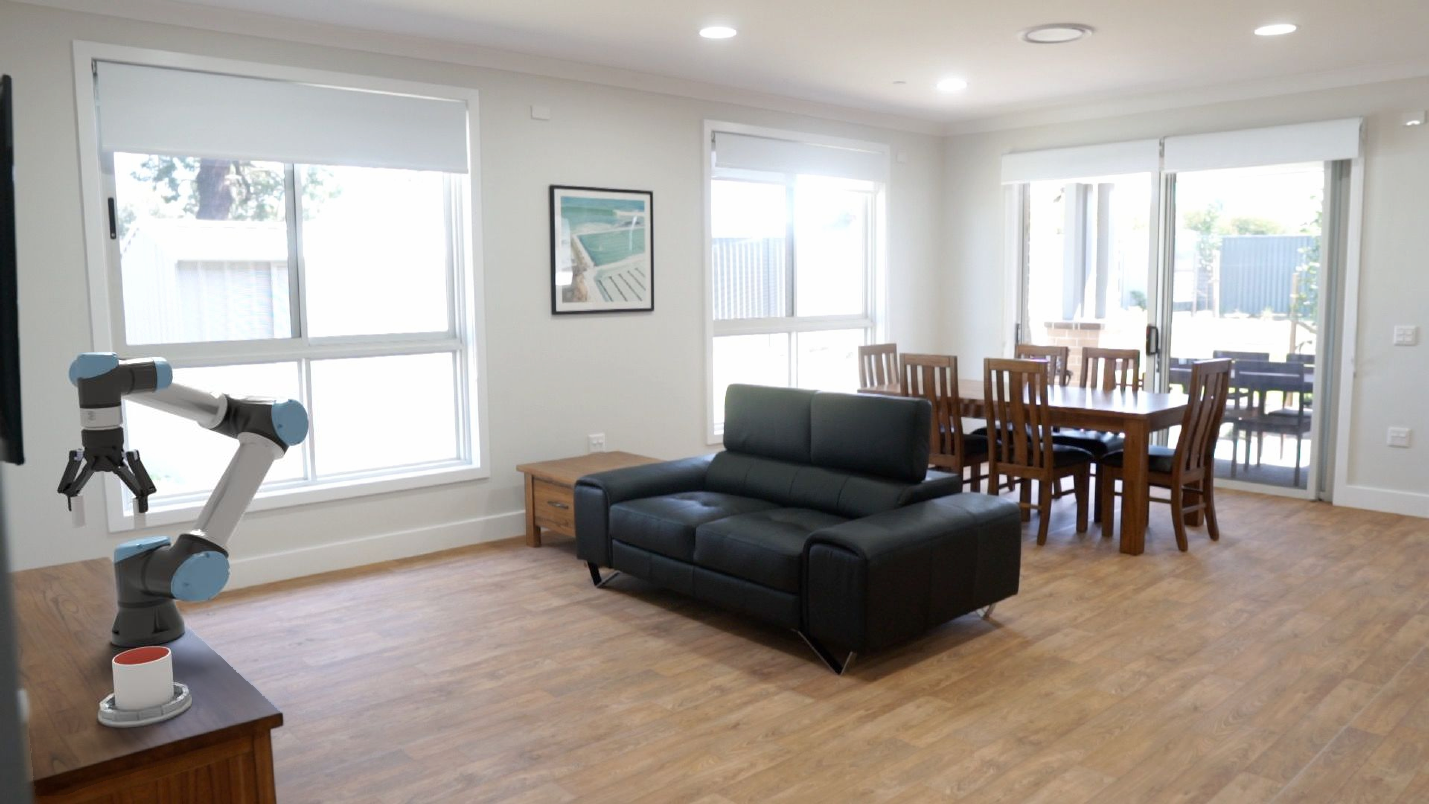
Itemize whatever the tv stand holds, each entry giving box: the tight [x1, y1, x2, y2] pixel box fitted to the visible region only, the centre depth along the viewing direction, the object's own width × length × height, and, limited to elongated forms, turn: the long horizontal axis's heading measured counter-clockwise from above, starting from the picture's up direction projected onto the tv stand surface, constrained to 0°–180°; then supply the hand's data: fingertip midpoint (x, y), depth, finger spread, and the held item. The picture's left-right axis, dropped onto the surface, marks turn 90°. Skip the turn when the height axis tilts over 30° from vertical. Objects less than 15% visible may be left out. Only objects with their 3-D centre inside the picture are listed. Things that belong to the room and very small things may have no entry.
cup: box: [111, 645, 174, 712], centre depth 198 cm, size 10×10×10 cm
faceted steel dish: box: [97, 681, 193, 729], centre depth 198 cm, size 16×16×2 cm
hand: (109, 527), depth 213 cm, fingers open, 13 cm apart
